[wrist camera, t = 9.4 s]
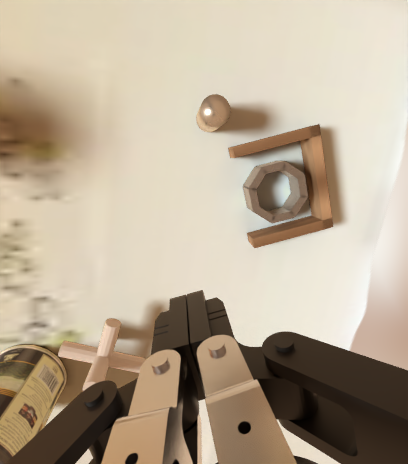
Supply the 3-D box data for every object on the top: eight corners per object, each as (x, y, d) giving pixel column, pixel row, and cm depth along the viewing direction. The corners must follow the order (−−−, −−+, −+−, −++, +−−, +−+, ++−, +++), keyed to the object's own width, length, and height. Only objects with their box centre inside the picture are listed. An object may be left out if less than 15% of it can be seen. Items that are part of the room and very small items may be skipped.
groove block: (228, 148, 35) (232, 147, 32) (307, 127, 35) (319, 124, 32) (248, 241, 38) (254, 248, 36) (321, 221, 39) (333, 226, 36)
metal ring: (239, 170, 36) (244, 171, 33) (292, 156, 36) (302, 156, 33) (250, 222, 38) (256, 227, 35) (300, 209, 38) (310, 213, 35)
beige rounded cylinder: (193, 108, 34) (196, 98, 28) (218, 102, 34) (226, 91, 28) (199, 134, 35) (204, 130, 29) (223, 128, 35) (233, 122, 29)
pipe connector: (156, 310, 40) (150, 359, 30) (137, 370, 42) (126, 433, 32) (83, 292, 38) (52, 338, 29) (67, 355, 40) (33, 417, 31)
